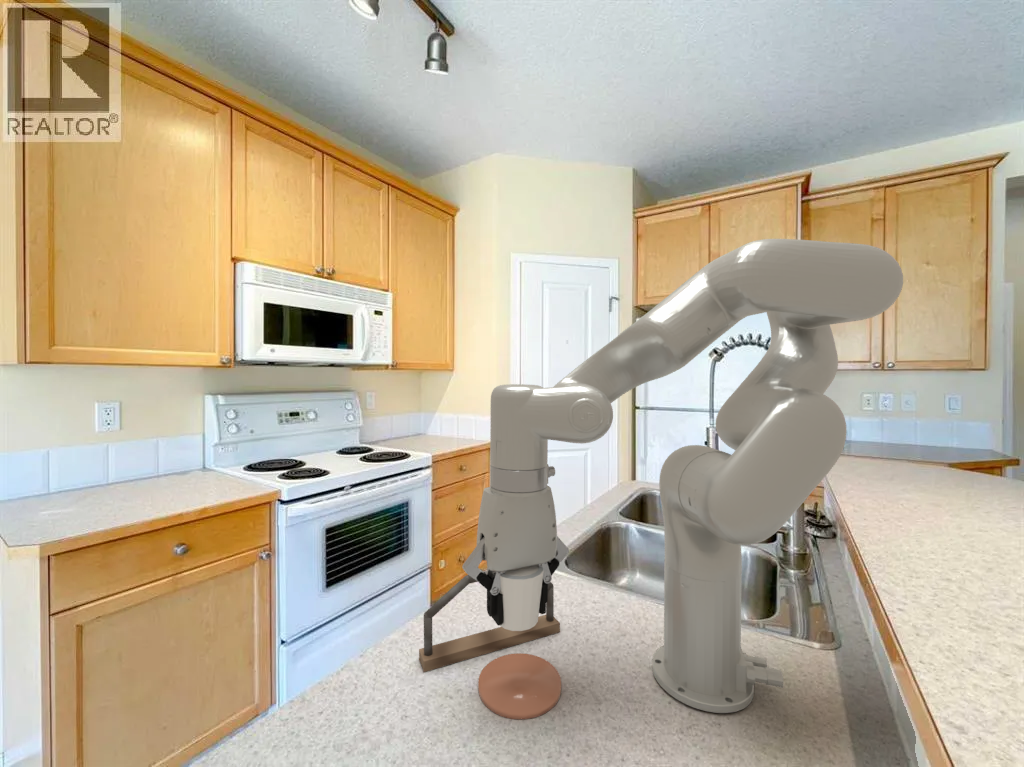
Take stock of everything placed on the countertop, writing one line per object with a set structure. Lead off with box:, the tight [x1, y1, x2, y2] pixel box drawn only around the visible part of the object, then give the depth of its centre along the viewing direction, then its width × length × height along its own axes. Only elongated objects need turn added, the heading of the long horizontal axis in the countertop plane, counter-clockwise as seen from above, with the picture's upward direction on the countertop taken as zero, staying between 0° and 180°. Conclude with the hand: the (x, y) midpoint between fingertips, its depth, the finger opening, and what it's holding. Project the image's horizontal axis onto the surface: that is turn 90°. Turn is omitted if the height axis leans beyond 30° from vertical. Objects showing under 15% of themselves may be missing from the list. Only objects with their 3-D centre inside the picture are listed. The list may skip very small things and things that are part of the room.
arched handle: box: [418, 570, 561, 673], centre depth 66 cm, size 22×3×12 cm, turn 115°
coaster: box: [477, 652, 562, 720], centre depth 58 cm, size 11×11×1 cm
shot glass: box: [492, 565, 544, 631], centre depth 57 cm, size 7×7×7 cm
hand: (517, 612), depth 57 cm, fingers closed on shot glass, 5 cm apart
